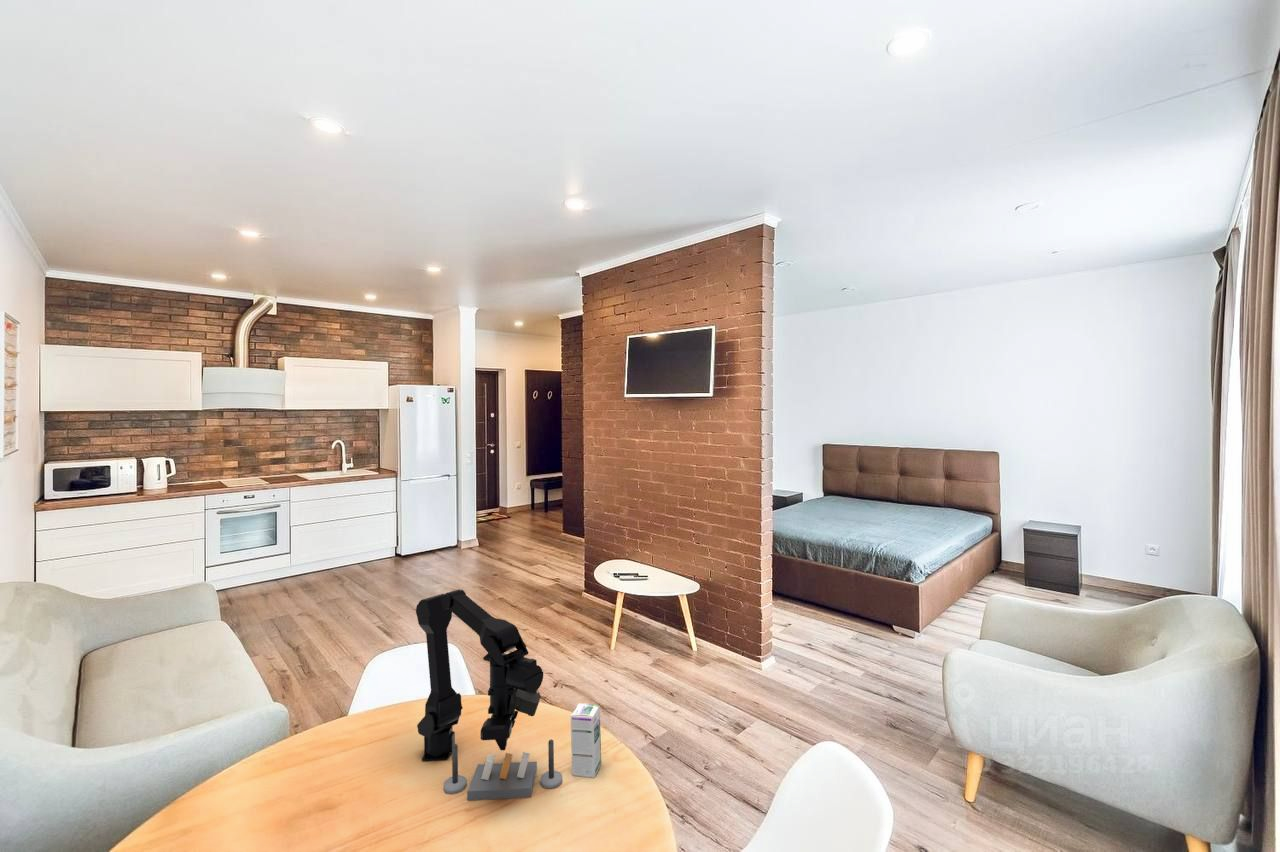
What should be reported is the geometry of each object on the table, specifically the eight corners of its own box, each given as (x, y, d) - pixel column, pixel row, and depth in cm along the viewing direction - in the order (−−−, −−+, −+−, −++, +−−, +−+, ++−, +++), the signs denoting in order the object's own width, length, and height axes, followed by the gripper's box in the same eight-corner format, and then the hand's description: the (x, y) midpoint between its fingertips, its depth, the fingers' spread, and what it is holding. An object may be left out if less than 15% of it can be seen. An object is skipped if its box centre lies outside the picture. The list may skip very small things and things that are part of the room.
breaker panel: (467, 800, 120) (467, 791, 120) (478, 772, 130) (477, 764, 130) (531, 797, 121) (530, 788, 121) (536, 769, 131) (536, 761, 131)
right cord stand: (539, 789, 123) (538, 746, 124) (541, 776, 128) (541, 734, 129) (561, 788, 124) (560, 745, 124) (563, 775, 129) (562, 733, 129)
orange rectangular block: (499, 777, 124) (503, 760, 124) (501, 769, 127) (505, 752, 127) (505, 779, 124) (510, 762, 124) (508, 771, 127) (512, 754, 127)
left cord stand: (440, 795, 122) (440, 751, 122) (447, 781, 127) (447, 738, 127) (463, 793, 122) (463, 750, 123) (468, 779, 127) (468, 737, 128)
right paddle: (516, 776, 124) (521, 759, 124) (518, 768, 127) (523, 752, 127) (523, 778, 124) (528, 761, 124) (525, 770, 127) (529, 753, 127)
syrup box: (595, 778, 127) (594, 716, 127) (571, 775, 128) (570, 713, 129) (601, 764, 133) (600, 704, 133) (578, 761, 134) (577, 702, 134)
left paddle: (481, 778, 124) (485, 761, 124) (484, 770, 127) (488, 753, 127) (488, 780, 124) (492, 762, 124) (491, 772, 127) (495, 755, 127)
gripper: (532, 699, 117) (532, 772, 117) (542, 663, 136) (543, 726, 135) (479, 701, 116) (480, 775, 116) (497, 665, 135) (497, 728, 135)
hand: (503, 749), depth 126 cm, fingers closed
